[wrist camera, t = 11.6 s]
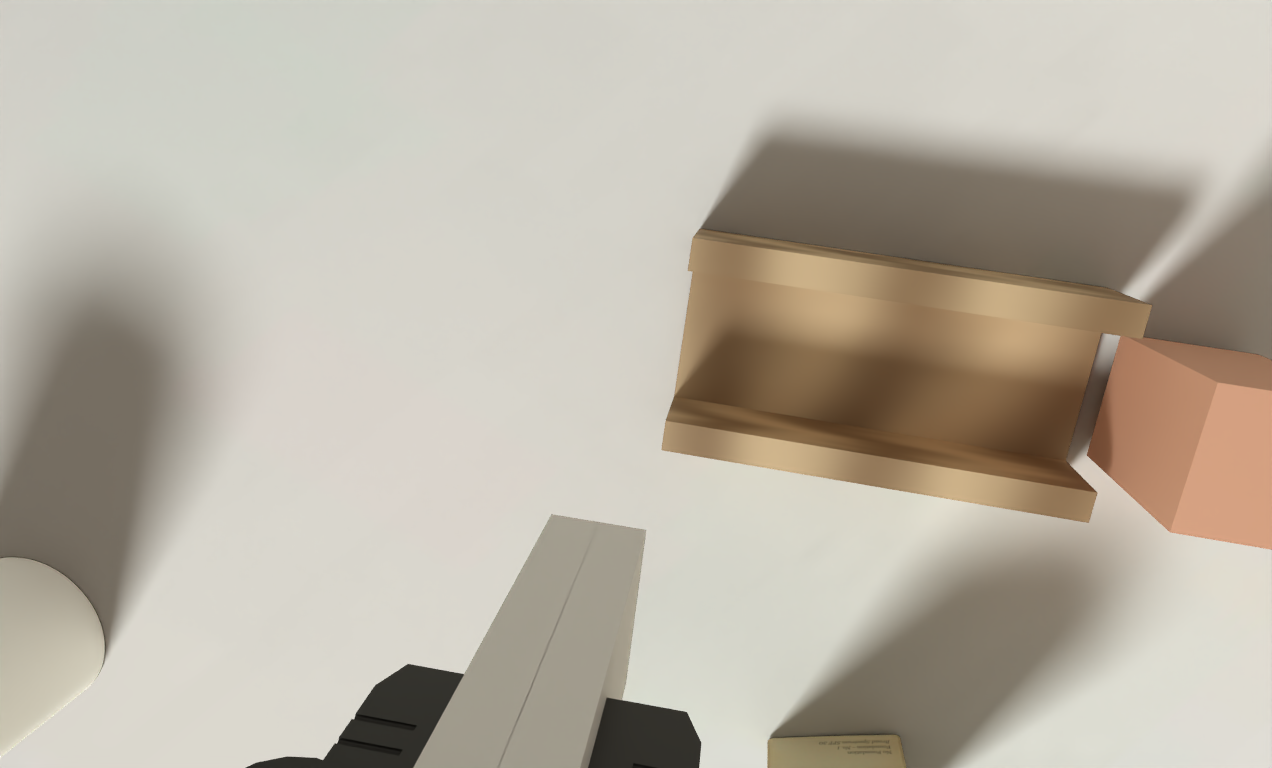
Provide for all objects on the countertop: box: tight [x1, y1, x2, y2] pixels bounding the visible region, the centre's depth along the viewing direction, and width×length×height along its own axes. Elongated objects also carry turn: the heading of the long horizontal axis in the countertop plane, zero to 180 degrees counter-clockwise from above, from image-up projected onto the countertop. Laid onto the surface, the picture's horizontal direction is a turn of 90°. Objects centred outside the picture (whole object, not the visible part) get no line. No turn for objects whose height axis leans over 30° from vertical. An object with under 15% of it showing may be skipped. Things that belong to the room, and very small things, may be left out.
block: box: [1087, 336, 1272, 549], centre depth 31 cm, size 5×5×8 cm
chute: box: [662, 229, 1152, 523], centre depth 34 cm, size 16×8×4 cm, turn 83°
